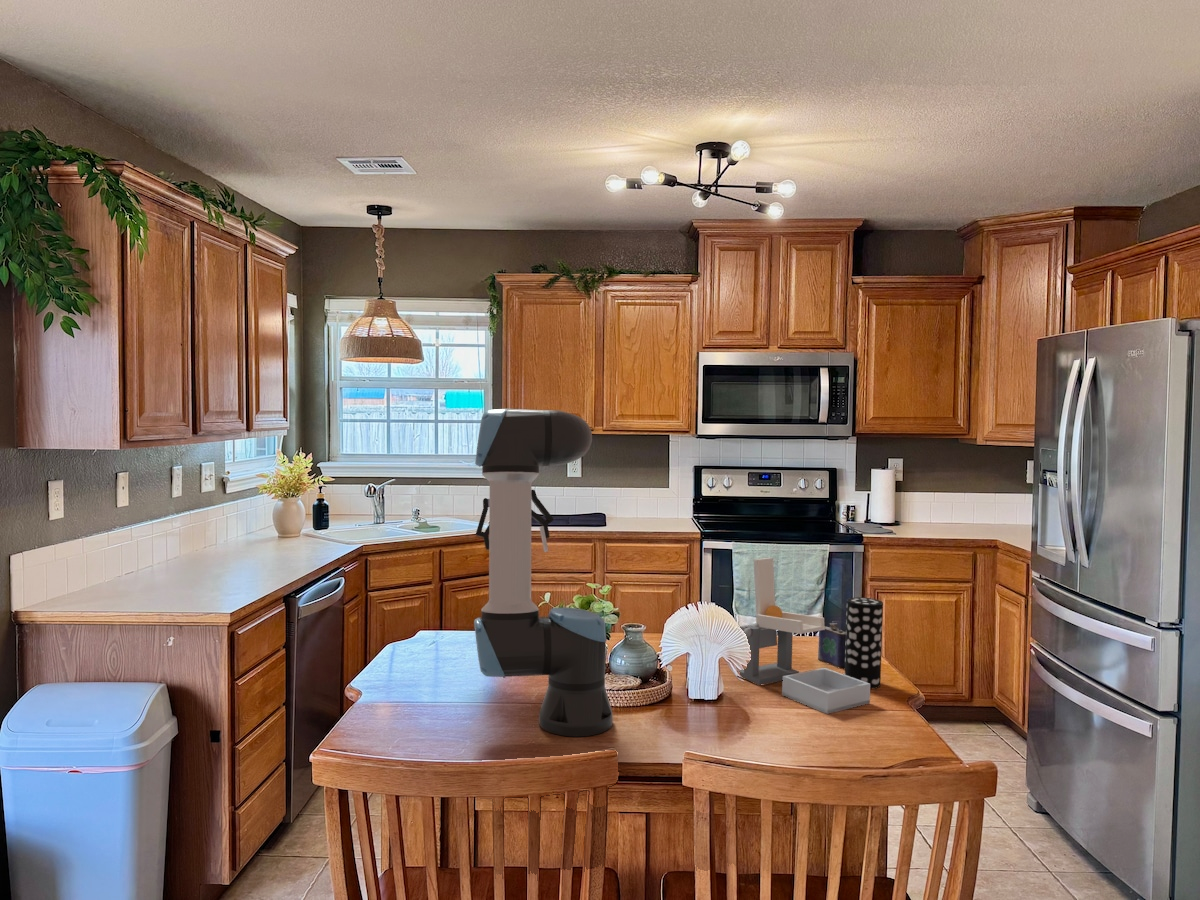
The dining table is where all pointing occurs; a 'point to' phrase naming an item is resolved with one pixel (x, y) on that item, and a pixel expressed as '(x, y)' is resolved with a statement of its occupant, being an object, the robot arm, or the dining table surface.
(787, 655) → the stand
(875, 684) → the spotted tube
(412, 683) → the dining table surface
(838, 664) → the flask
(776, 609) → the ball
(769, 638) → the chute
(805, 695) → the grey storage tray
